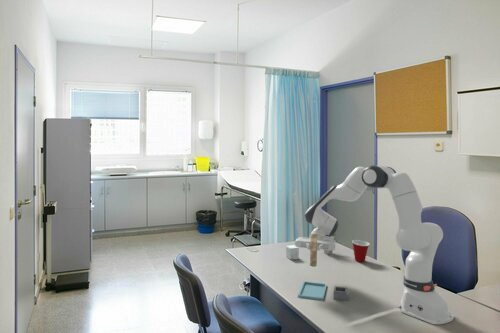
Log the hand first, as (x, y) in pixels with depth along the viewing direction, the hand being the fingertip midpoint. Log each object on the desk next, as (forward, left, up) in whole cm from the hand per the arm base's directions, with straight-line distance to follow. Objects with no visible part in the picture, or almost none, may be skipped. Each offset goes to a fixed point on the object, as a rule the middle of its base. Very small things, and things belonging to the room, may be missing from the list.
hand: (313, 248), depth 189 cm
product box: (+50, -24, -23) cm, 60 cm away
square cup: (-11, -8, -23) cm, 27 cm away
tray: (+1, -1, -23) cm, 23 cm away
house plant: (+45, -50, -23) cm, 71 cm away
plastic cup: (+25, -58, -23) cm, 67 cm away
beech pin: (+1, -1, -9) cm, 9 cm away
